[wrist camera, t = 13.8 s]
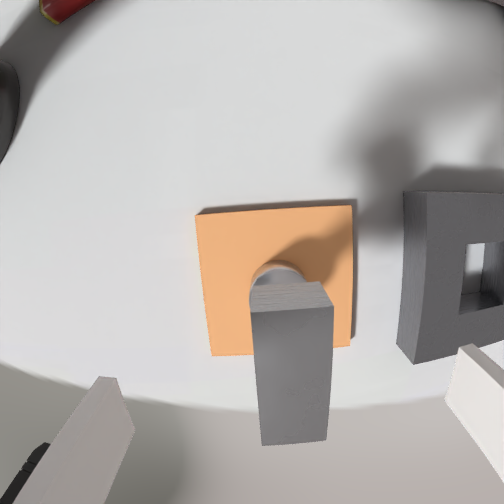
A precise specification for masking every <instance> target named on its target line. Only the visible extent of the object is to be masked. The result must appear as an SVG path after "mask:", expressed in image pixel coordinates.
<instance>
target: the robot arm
mask: <svg viewBox="0 0 504 504" xmlns="http://www.w3.org/2000/svg"><path fill="white" fill-rule="evenodd" d="M18 106H19V82H18V78H17V74H16V72H15V70H14V68H13V67H12V66H11V65H10V64H8V63H6V62H4V61H1V60H0V162H1V160H2V158H3V156H4V154H5V152H6V150H7V147H8V145H9V142H10V139H11V136H12V133H13V130H14V126H15V122H16V118H17V113H18ZM444 401H445V402H446V403H447V405H448V406H449V407H450V409H451V410H452V411H453V412H454V414H455V415H456V416H457V418H458V419H459V420H460V422H461V423H462V424H463V426H464V427H465V428H466V430H467V431H468V432H469V434H470V435H471V437H472V438H473V439H474V441H475V442H476V443H477V445H478V446H479V448H480V449H481V450H482V452H483V453H484V455H485V456H486V457H487V459H488V460H489V462H490V463H491V465H492V466H493V467H494V469H495V470H496V472H497V473H498V475H499V476H500V477H501V479H502V481H503V482H504V370H503V369H502V368H501V367H500V366H499V365H497V364H496V363H495V362H494V361H493V360H492V359H491V358H489V357H488V356H487V355H486V354H485V353H484V352H482V351H481V350H480V349H479V348H478V347H476V346H475V345H474V344H473V343H472V344H468V345H465V346H461V347H459V350H458V354H457V358H456V362H455V366H454V369H453V373H452V377H451V380H450V383H449V387H448V390H447V393H446V396H445V400H444ZM134 432H135V428H134V425H133V423H132V420H131V418H130V415H129V413H128V410H127V407H126V405H125V402H124V399H123V396H122V394H121V391H120V388H119V385H118V382H117V379H116V378H111V377H100V376H99V377H98V378H97V380H96V381H95V383H94V384H93V385H92V387H91V388H90V389H89V391H88V392H87V394H86V395H85V396H84V398H83V399H82V401H81V402H80V403H79V405H78V406H77V408H76V409H75V411H74V412H73V413H72V415H71V416H70V417H69V419H68V420H67V422H66V423H65V425H64V426H63V427H62V429H61V430H60V432H59V433H58V435H57V436H56V438H55V439H54V441H53V442H52V443H51V444H48V443H43V444H42V445H40V446H39V447H37V448H36V449H35V450H34V451H33V452H32V453H31V455H30V456H29V458H28V459H27V463H26V462H25V464H24V465H23V466H22V468H21V469H22V470H21V471H19V472H18V474H17V475H16V477H15V478H14V480H13V481H12V483H11V484H10V486H9V487H8V489H7V490H6V492H5V493H4V495H3V496H2V498H1V499H0V504H104V502H105V500H106V497H107V495H108V493H109V490H110V488H111V485H112V483H113V481H114V478H115V476H116V474H117V471H118V469H119V466H120V464H121V462H122V459H123V457H124V455H125V452H126V450H127V448H128V446H129V443H130V441H131V439H132V436H133V434H134Z"/></svg>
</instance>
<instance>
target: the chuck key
mask: <svg viewBox="0 0 504 504" xmlns="http://www.w3.org/2000/svg"><path fill="white" fill-rule="evenodd" d="M249 307H250V315H251V327H252V339H253V350H254V362H255V374H256V385H257V396H258V408H259V419H260V430H261V441H262V446H265V445H283V444H296V443H306V442H316V441H323V440H326V437H327V426H328V415H329V404H330V391H331V376H332V358H333V333H334V305H333V303H332V302H331V300H330V298H329V296H328V295H327V293H326V291H325V290H324V288H323V286H322V285H321V283H320V281H317V282H307V281H306V279H305V276H304V274H303V273H302V271H301V270H300V269H299V268H298V267H297V266H296V265H295V264H293V263H291V262H288V261H285V260H273V261H269V262H267V263H265V264H263V265H262V266H260V267H259V268H258V269H257V270H256V272H255V273H254V275H253V277H252V279H251V284H250V293H249Z"/></svg>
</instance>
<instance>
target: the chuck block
mask: <svg viewBox="0 0 504 504" xmlns="http://www.w3.org/2000/svg"><path fill="white" fill-rule="evenodd" d="M403 196H404V256H403V278H402V293H401V305H400V316H399V325H398V334H397V342H396V344H397V345H398V346H399V348H400V349H401V350H402V351H403V353H404V354H405V355H406V356H407V358H408V359H409V360H410V361H411V362H412V364H413V365H414V364H419V363H423V362H428V361H432V360H436V359H440V358H444V357H448V356H452V355H455V354H458V350H459V347H461V346H465V345H468V344H472V343H473V344H474V345H475V346H476V347H478V348H480V347H483V346H486V345H489V344H492V343H496V342H499V341H502V340H504V193H481V192H441V191H403ZM477 243H485V251H484V263H483V273H482V281H481V289H480V292H476V293H471V294H465V295H461V292H462V284H463V274H464V263H465V249H466V244H477Z"/></svg>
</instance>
